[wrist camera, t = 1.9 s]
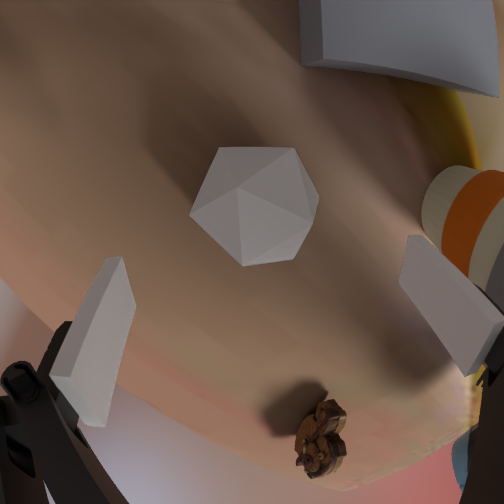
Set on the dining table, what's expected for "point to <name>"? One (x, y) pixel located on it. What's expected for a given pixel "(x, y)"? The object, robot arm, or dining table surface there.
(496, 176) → the reusable coffee cup
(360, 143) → the dining table surface
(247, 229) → the die
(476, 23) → the slate block
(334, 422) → the wooden carving
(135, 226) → the dining table surface
